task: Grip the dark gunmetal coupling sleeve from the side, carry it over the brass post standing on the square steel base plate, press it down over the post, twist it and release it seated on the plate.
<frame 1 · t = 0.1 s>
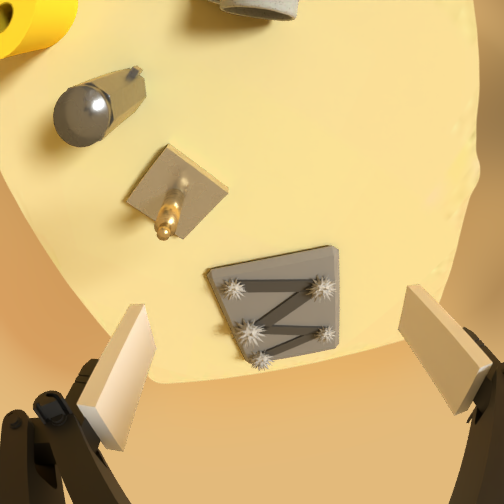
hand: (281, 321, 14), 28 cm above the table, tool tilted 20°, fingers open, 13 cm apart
coupling: (123, 91, 30), on the table
tape roll: (46, 14, 21), on the table
post: (176, 191, 40), on the table
decorative plate: (283, 309, 58), on the table
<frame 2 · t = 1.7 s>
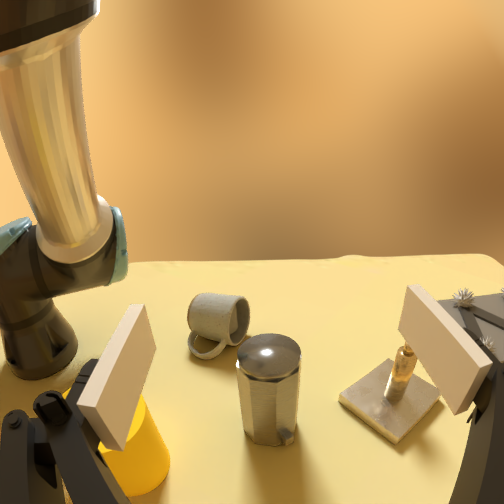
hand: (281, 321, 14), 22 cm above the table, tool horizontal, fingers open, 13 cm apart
coupling: (270, 425, 31), on the table
tape roll: (128, 461, 26), on the table
post: (391, 401, 32), on the table
ceramic mug: (218, 341, 48), on the table
decorative plate: (503, 331, 40), on the table
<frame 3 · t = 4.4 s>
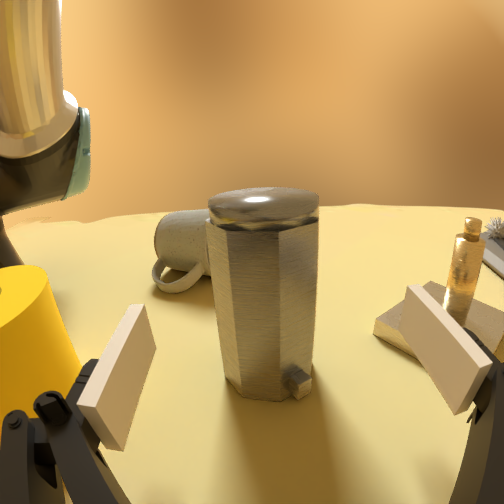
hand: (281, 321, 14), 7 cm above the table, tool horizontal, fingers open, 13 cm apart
coupling: (269, 369, 20), on the table
tape roll: (40, 418, 15), on the table
post: (447, 332, 21), on the table
ceramic mug: (195, 276, 36), on the table
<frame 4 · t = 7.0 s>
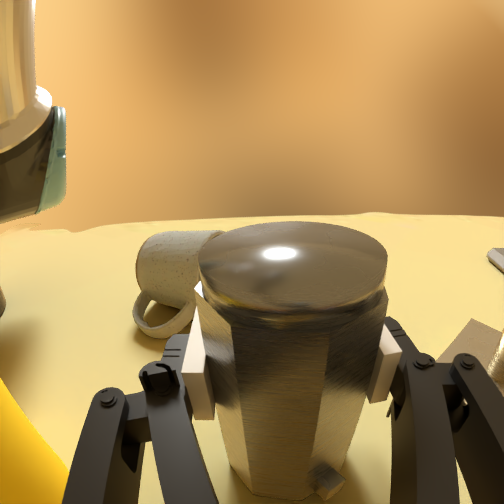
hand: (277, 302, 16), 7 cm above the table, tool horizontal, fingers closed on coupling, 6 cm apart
coupling: (286, 454, 14), on the table, touching gripper
tape roll: (12, 496, 8), on the table
post: (493, 386, 15), on the table
ceramic mug: (186, 312, 29), on the table
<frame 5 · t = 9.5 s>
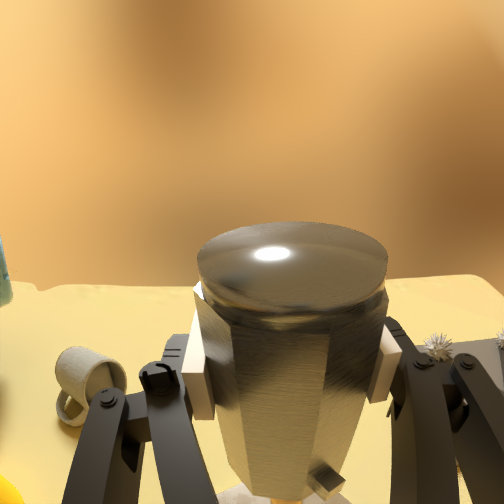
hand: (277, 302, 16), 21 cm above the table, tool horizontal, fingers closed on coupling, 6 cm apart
coupling: (286, 455, 14), point 14 cm above the table, touching gripper
ceramic mug: (93, 404, 33), on the table
decorative plate: (488, 395, 28), on the table
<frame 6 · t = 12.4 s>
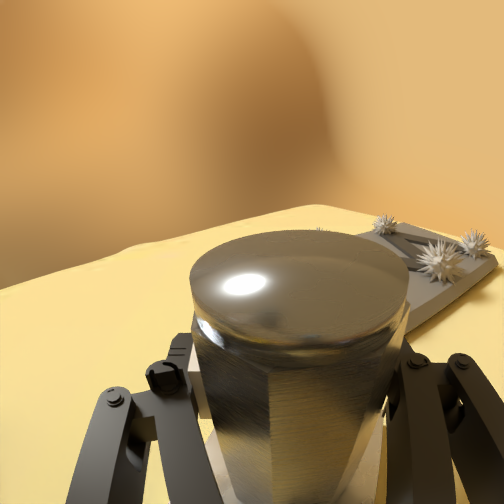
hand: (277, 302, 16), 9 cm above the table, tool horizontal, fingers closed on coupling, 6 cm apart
coupling: (291, 474, 12), point 2 cm above the table, touching gripper, post
post: (287, 475, 14), on the table
decorative plate: (395, 274, 38), on the table
when the fingers open (9 cm above the table, at t = 12.6 s): coupling stays where it is, resting on post.
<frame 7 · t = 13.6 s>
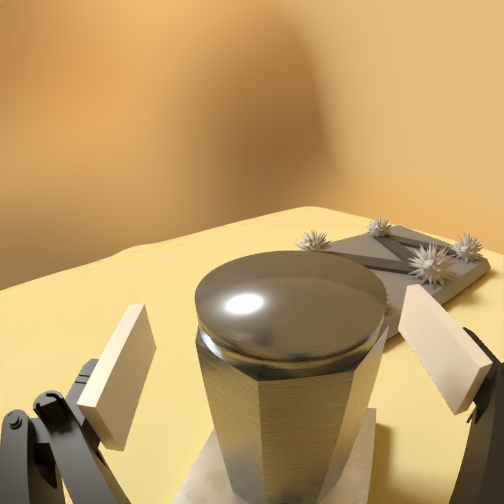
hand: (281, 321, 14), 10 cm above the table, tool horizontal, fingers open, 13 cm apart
coupling: (284, 470, 13), point 1 cm above the table, touching post
post: (285, 471, 15), on the table
decorative plate: (388, 276, 39), on the table
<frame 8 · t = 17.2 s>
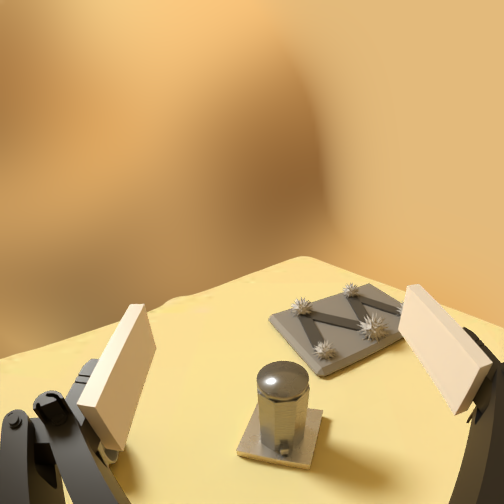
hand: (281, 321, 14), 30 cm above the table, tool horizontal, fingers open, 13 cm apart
coupling: (281, 434, 36), point 1 cm above the table, touching post
post: (282, 436, 37), on the table
decorative plate: (349, 327, 62), on the table
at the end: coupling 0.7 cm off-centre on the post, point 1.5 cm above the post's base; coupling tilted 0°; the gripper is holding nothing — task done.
